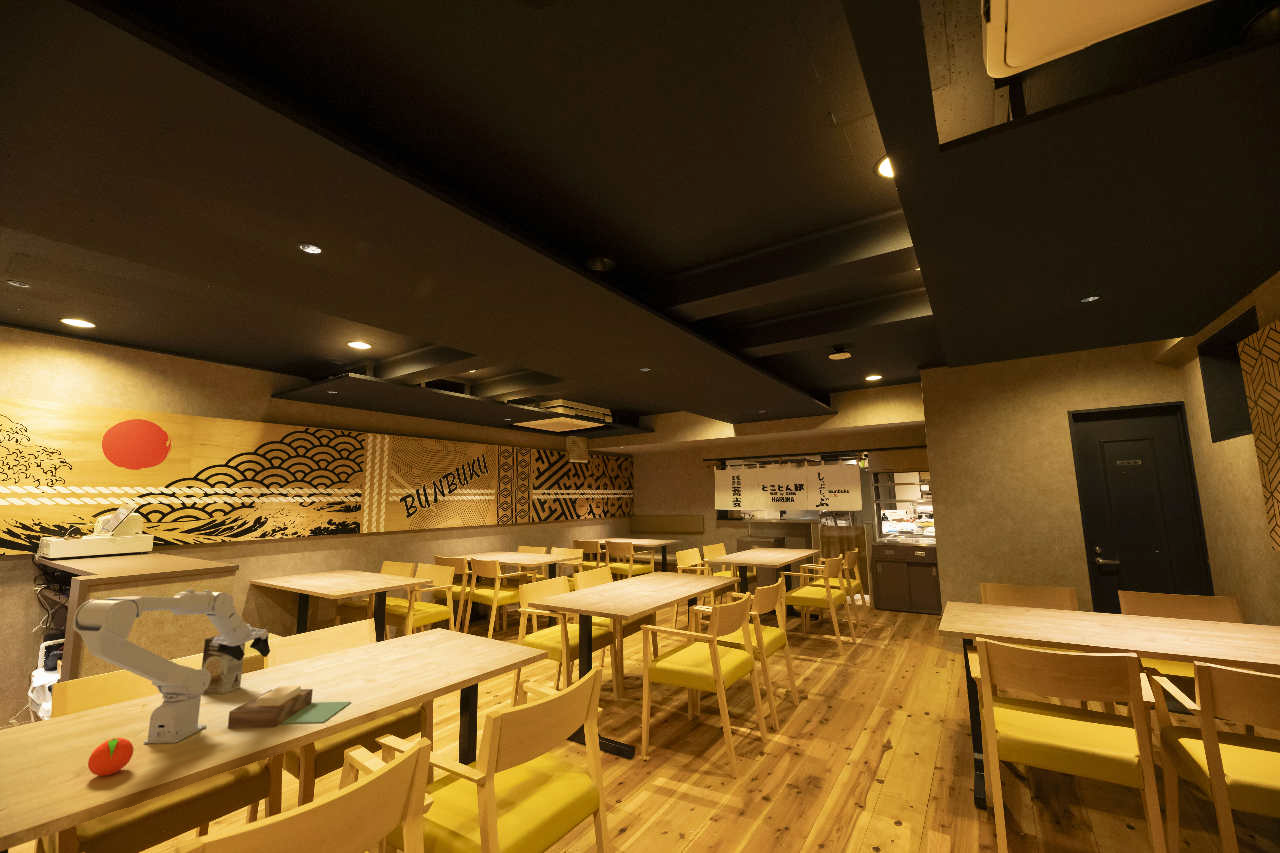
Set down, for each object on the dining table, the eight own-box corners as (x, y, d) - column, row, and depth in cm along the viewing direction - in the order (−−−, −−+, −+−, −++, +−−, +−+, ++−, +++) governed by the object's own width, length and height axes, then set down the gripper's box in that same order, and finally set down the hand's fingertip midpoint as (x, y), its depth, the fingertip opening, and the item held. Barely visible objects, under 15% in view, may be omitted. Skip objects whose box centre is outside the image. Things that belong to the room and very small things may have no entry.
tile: (279, 705, 138) (279, 697, 139) (256, 706, 138) (257, 698, 139) (300, 693, 147) (300, 686, 148) (278, 693, 147) (279, 686, 147)
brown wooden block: (274, 727, 134) (276, 710, 135) (227, 728, 134) (229, 711, 135) (311, 703, 150) (312, 688, 151) (269, 704, 150) (270, 689, 150)
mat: (323, 722, 137) (323, 721, 137) (280, 723, 136) (281, 722, 136) (350, 702, 151) (350, 701, 151) (312, 703, 150) (312, 702, 150)
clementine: (131, 775, 111) (135, 740, 112) (84, 788, 106) (89, 750, 107) (131, 762, 116) (135, 728, 117) (86, 774, 111) (91, 738, 113)
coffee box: (196, 693, 159) (203, 638, 162) (215, 686, 166) (221, 633, 168) (224, 694, 158) (229, 639, 161) (241, 686, 165) (247, 634, 167)
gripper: (264, 610, 149) (285, 640, 156) (214, 617, 149) (238, 647, 155) (250, 630, 143) (273, 661, 149) (198, 638, 143) (223, 668, 149)
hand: (254, 655), depth 152 cm, fingers open, 7 cm apart
